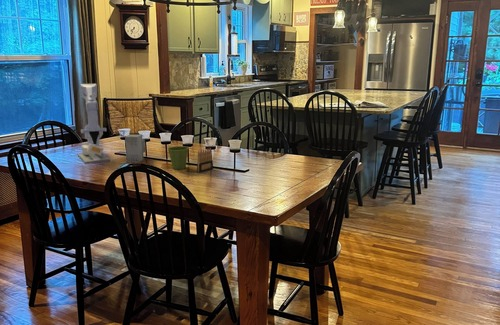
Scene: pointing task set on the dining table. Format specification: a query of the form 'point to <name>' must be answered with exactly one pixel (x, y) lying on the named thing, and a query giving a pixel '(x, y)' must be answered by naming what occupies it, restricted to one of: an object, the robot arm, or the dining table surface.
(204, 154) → the ammunition clip
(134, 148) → the circuit breaker
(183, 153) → the plant pot
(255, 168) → the dining table surface
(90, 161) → the rail board
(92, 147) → the module
